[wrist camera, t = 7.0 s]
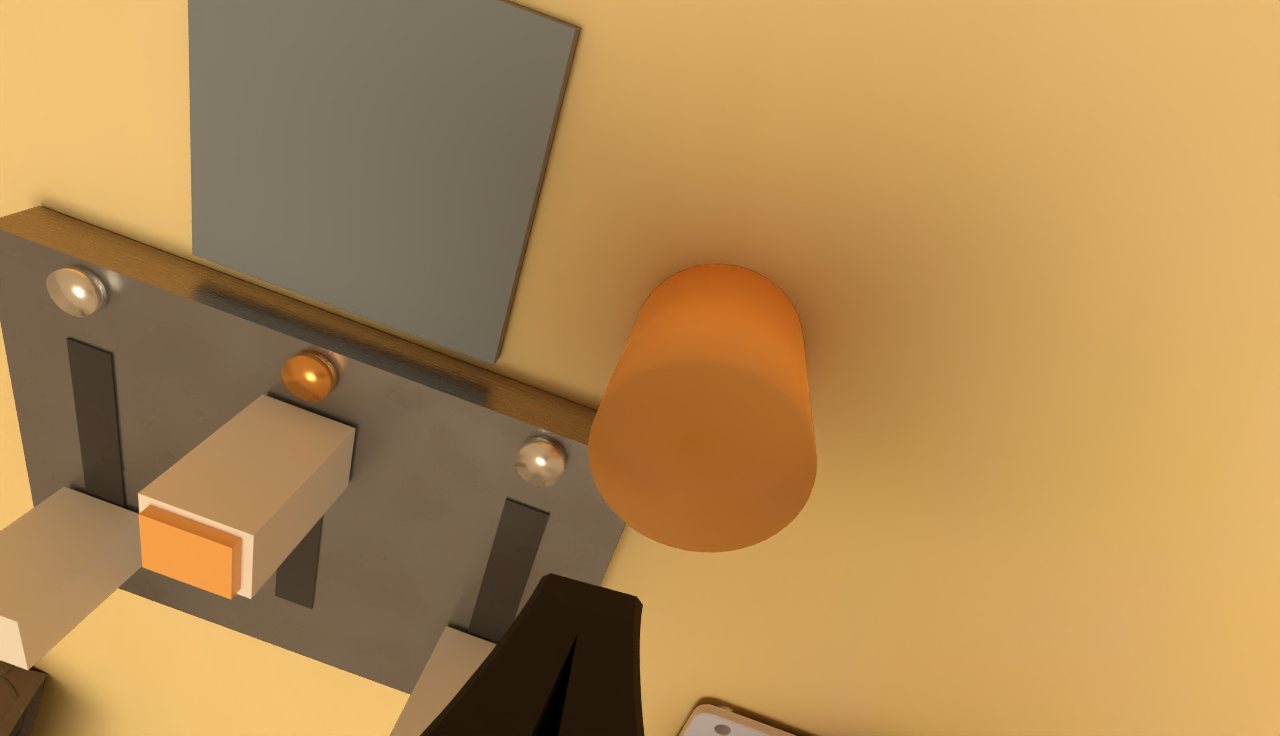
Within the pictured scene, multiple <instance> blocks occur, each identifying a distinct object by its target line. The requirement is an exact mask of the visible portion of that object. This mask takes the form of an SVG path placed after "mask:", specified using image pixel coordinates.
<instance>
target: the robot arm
mask: <svg viewBox="0 0 1280 736" xmlns="http://www.w3.org/2000/svg"><path fill="white" fill-rule="evenodd" d="M642 607H643V605H642V603H641V602H640V600H639V599H638V598H637V597H636V596H633V595H629V594H625V593H622V592H618V591H614V590H611V589H607V588H603V587H600V586H596V585H592V584H589V583H585V582H582V581H578V580H574V579H571V578H567V577H563V576H560V575H556V574H552V573H550V574H548V575H545V576H543V577H542V578H541V579H540V581H539V583H538V585H537V586H536V588H535V590H534V592H533V593H532V595H531V596H530V598H529V600H528V601H527V603H526V604H525V606H524V607H523V609H522V610H521V612H520V613H519V615H518V616H517V618H516V619H515V620H514V622H513V623H512V625H511V626H510V627H509V629H508V630H507V631H506V633H505V634H504V635H503V637H502V638H501V639H500V641H499V642H498V643H497V645H496V646H495V647H494V649H493V650H492V651H491V653H490V654H489V655H488V656H487V658H486V659H485V660H484V661H483V663H482V664H481V665H480V666H479V667H478V669H477V670H476V671H475V672H474V673H473V675H472V676H471V677H470V678H469V680H468V681H467V682H466V683H465V684H464V686H463V687H462V688H461V689H460V691H459V692H458V693H457V694H456V695H455V697H454V698H453V699H452V700H451V701H450V702H449V704H448V705H447V706H446V707H445V708H444V709H443V711H442V712H441V713H440V714H439V715H438V716H437V717H436V718H435V719H434V720H433V722H432V723H431V724H430V725H429V726H428V727H427V728H426V729H425V730H424V731H423V732H422V734H421V735H420V736H644V727H643V716H642V703H641V685H640V625H641V614H642ZM679 736H796V735H794V734H791V733H788V732H785V731H783V730H780V729H777V728H774V727H772V726H769V725H766V724H763V723H761V722H758V721H755V720H752V719H750V718H747V717H744V716H742V715H739V714H736V713H733V712H731V711H728V710H725V709H722V708H720V707H717V706H714V705H710V704H703V705H700V706H697V707H696V708H695V709H694V711H693V712H692V714H691V716H690V717H689V719H688V721H687V722H686V724H685V726H684V727H683V729H682V731H681V732H680V734H679Z"/></svg>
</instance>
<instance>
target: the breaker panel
mask: <svg viewBox="0 0 1280 736" xmlns="http://www.w3.org/2000/svg"><path fill="white" fill-rule="evenodd" d="M0 322H1V328H2V333H3V339H4V344H5V350H6V355H7V361H8V366H9V372H10V377H11V383H12V388H13V394H14V399H15V405H16V411H17V416H18V422H19V427H20V433H21V438H22V444H23V449H24V455H25V460H26V466H27V471H28V477H29V482H30V488H31V493H32V499H33V505H34V507H36V506H37V505H38V504H40V503H41V502H43V501H44V500H46V499H47V498H48V497H50V496H51V495H53V494H54V493H56V492H57V491H58V490H60V489H61V488H63V487H67V488H70V489H72V490H75V491H78V492H80V493H83V494H86V495H89V496H91V497H94V498H97V499H100V500H102V501H105V502H108V503H111V504H113V505H116V506H119V507H122V508H124V509H127V510H130V511H133V512H135V513H138V514H139V501H138V493H139V492H140V491H141V490H143V489H144V488H145V487H146V486H148V485H149V484H150V483H151V482H153V481H154V480H155V479H157V478H158V477H159V476H160V475H162V474H163V473H164V472H165V471H167V470H168V469H169V468H170V467H172V466H173V465H174V464H175V463H177V462H178V461H179V460H180V459H182V458H183V457H184V456H185V455H187V454H188V453H189V452H190V451H192V450H193V449H194V448H196V447H197V446H198V445H199V444H201V443H202V442H203V441H204V440H206V439H207V438H208V437H209V436H211V435H212V434H213V433H214V432H216V431H217V430H218V429H219V428H221V427H222V426H223V425H224V424H226V423H227V422H228V421H229V420H231V419H232V418H233V417H235V416H236V415H237V414H238V413H240V412H241V411H242V410H243V409H245V408H246V407H247V406H248V405H250V404H251V403H252V402H253V401H255V400H256V399H257V398H258V397H260V396H261V395H262V394H263V395H266V396H269V397H271V398H274V399H277V400H279V401H282V402H285V403H288V404H290V405H293V406H296V407H299V408H301V409H304V410H307V411H309V412H312V413H315V414H318V415H320V416H323V417H326V418H329V419H331V420H334V421H337V422H339V423H342V424H345V425H348V426H350V427H353V428H356V429H355V437H354V444H353V452H352V460H351V467H350V475H349V483H348V487H347V488H346V489H345V490H344V491H343V492H342V494H341V495H340V496H339V497H338V498H337V499H336V501H335V502H334V503H333V504H332V505H331V506H330V508H329V509H328V510H327V511H326V512H325V513H324V515H323V516H322V517H321V518H320V519H319V520H318V522H317V523H316V524H315V525H314V526H313V527H312V529H311V530H310V531H309V532H308V533H307V534H306V536H305V537H304V538H303V539H302V540H301V542H300V543H299V544H298V545H297V546H296V547H295V549H294V550H293V551H292V552H291V553H290V554H289V556H288V557H287V558H286V559H285V560H284V561H283V563H282V564H281V565H280V566H279V567H278V568H277V570H276V571H275V572H274V573H273V574H272V575H271V577H270V578H269V579H268V580H267V581H266V582H265V584H264V585H263V586H262V587H261V588H260V589H259V591H258V592H257V593H256V594H255V595H254V596H253V598H252V599H249V598H247V597H244V596H241V595H239V594H236V595H235V596H234V597H233V598H232V599H228V598H225V597H223V596H220V595H217V594H214V593H212V592H209V591H206V590H203V589H201V588H198V587H195V586H192V585H190V584H187V583H184V582H181V581H179V580H176V579H173V578H170V577H168V576H165V575H162V574H159V573H157V572H154V571H151V570H148V569H146V568H143V567H142V566H141V567H140V568H139V569H138V570H137V571H136V572H135V573H134V574H133V575H132V576H131V577H129V578H128V579H127V580H126V581H125V582H124V583H123V584H122V585H121V586H120V587H119V588H120V589H122V590H125V591H128V592H131V593H133V594H136V595H139V596H141V597H144V598H147V599H150V600H152V601H155V602H158V603H161V604H163V605H166V606H169V607H172V608H174V609H177V610H180V611H183V612H185V613H188V614H191V615H194V616H196V617H199V618H202V619H205V620H207V621H210V622H213V623H216V624H218V625H221V626H224V627H227V628H229V629H232V630H235V631H238V632H240V633H243V634H246V635H249V636H251V637H254V638H257V639H260V640H262V641H265V642H268V643H271V644H273V645H276V646H279V647H282V648H284V649H287V650H290V651H293V652H295V653H298V654H301V655H303V656H306V657H309V658H312V659H314V660H317V661H320V662H323V663H325V664H328V665H331V666H334V667H336V668H339V669H342V670H345V671H347V672H350V673H353V674H356V675H358V676H361V677H364V678H367V679H369V680H372V681H375V682H378V683H380V684H383V685H386V686H389V687H391V688H394V689H397V690H400V691H402V692H405V693H408V694H411V693H412V691H413V690H414V688H415V686H416V684H417V682H418V680H419V678H420V676H421V674H422V672H423V670H424V668H425V666H426V664H427V662H428V660H429V658H430V656H431V655H432V653H433V651H434V649H435V647H436V645H437V643H438V641H439V639H440V637H441V635H442V633H443V631H444V629H445V627H446V626H448V627H450V628H453V629H456V630H458V631H461V632H464V633H467V634H469V635H472V636H475V637H478V638H480V639H483V640H486V641H489V642H491V643H494V644H497V643H498V642H499V641H500V639H501V638H502V637H503V635H504V634H505V633H506V631H507V630H508V629H509V627H510V626H511V625H512V623H513V622H514V620H515V619H516V618H517V616H518V615H519V613H520V612H521V610H522V609H523V607H524V606H525V604H526V603H527V601H528V600H529V598H530V596H531V595H532V593H533V592H534V590H535V588H536V586H537V585H538V583H539V581H540V579H541V578H542V577H543V576H545V575H548V574H550V573H552V574H556V575H560V576H563V577H567V578H571V579H574V580H578V581H582V582H585V583H589V584H592V585H596V586H600V584H601V581H602V579H603V576H604V574H605V572H606V569H607V567H608V564H609V562H610V560H611V557H612V555H613V552H614V550H615V548H616V545H617V543H618V540H619V538H620V536H621V533H622V531H623V528H624V526H625V524H626V523H625V522H624V521H623V520H622V519H621V518H620V517H619V516H618V515H617V514H616V513H614V511H613V510H612V509H611V508H610V507H609V505H608V504H607V503H606V502H605V500H604V499H603V497H602V495H601V494H600V492H599V490H598V488H597V486H596V484H595V482H594V480H593V476H592V473H591V470H590V465H589V458H588V441H589V435H590V430H591V427H592V424H593V421H594V418H595V416H596V413H597V411H595V410H593V409H590V408H587V407H584V406H582V405H579V404H576V403H573V402H571V401H568V400H565V399H563V398H560V397H557V396H554V395H552V394H549V393H546V392H544V391H541V390H538V389H535V388H533V387H530V386H527V385H525V384H522V383H519V382H516V381H514V380H511V379H508V378H506V377H503V376H500V375H497V374H495V373H492V372H489V371H487V370H484V369H481V368H478V367H476V366H473V365H470V364H468V363H465V362H462V361H459V360H457V359H454V358H451V357H448V356H446V355H443V354H440V353H438V352H435V351H432V350H429V349H427V348H424V347H421V346H419V345H416V344H413V343H410V342H408V341H405V340H402V339H400V338H397V337H394V336H391V335H389V334H386V333H383V332H381V331H378V330H375V329H372V328H370V327H367V326H364V325H362V324H359V323H356V322H353V321H351V320H348V319H345V318H343V317H340V316H337V315H334V314H332V313H329V312H326V311H324V310H321V309H318V308H315V307H313V306H310V305H307V304H304V303H302V302H299V301H296V300H294V299H291V298H288V297H285V296H283V295H280V294H277V293H275V292H272V291H269V290H266V289H264V288H261V287H258V286H256V285H253V284H250V283H247V282H245V281H242V280H239V279H237V278H234V277H231V276H228V275H226V274H223V273H220V272H218V271H215V270H212V269H209V268H207V267H204V266H201V265H199V264H196V263H193V262H190V261H188V260H185V259H182V258H180V257H177V256H174V255H171V254H169V253H166V252H163V251H160V250H158V249H155V248H152V247H150V246H147V245H144V244H141V243H139V242H136V241H133V240H131V239H128V238H125V237H122V236H120V235H117V234H114V233H112V232H109V231H106V230H103V229H101V228H98V227H95V226H93V225H90V224H87V223H84V222H82V221H79V220H76V219H74V218H71V217H68V216H65V215H63V214H60V213H57V212H55V211H52V210H49V209H46V208H44V207H41V206H38V207H34V208H31V209H28V210H24V211H21V212H18V213H14V214H11V215H8V216H4V217H1V218H0Z"/></svg>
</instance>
